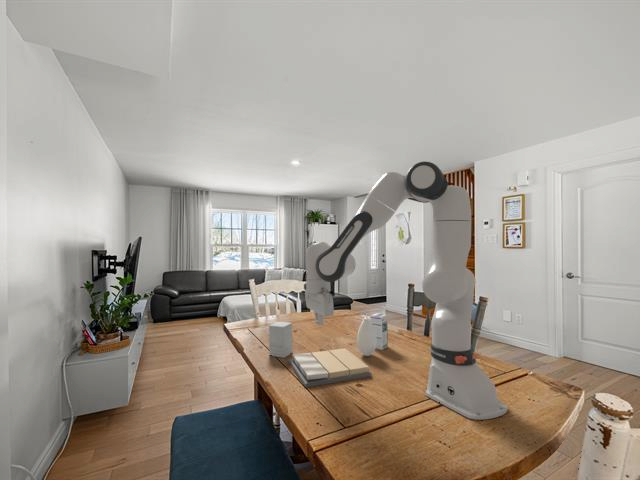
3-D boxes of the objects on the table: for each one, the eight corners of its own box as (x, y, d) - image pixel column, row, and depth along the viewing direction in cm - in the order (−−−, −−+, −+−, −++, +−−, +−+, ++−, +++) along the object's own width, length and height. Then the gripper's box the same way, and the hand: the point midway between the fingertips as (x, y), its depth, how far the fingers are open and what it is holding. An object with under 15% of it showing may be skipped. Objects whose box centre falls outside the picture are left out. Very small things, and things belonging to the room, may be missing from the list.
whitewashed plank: (328, 377, 100) (328, 373, 100) (307, 380, 97) (307, 375, 97) (309, 356, 119) (310, 352, 119) (292, 358, 116) (292, 354, 116)
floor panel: (371, 376, 104) (371, 367, 104) (305, 387, 96) (305, 378, 96) (345, 354, 125) (345, 347, 125) (288, 362, 117) (288, 354, 117)
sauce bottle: (354, 357, 122) (354, 312, 122) (361, 351, 129) (360, 309, 129) (373, 360, 118) (372, 314, 119) (378, 354, 125) (378, 310, 126)
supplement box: (293, 352, 128) (292, 322, 128) (283, 358, 121) (283, 327, 121) (278, 350, 131) (278, 320, 131) (268, 355, 124) (268, 325, 124)
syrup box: (382, 350, 130) (382, 316, 130) (370, 347, 133) (370, 314, 133) (388, 346, 134) (387, 314, 134) (376, 344, 138) (375, 312, 138)
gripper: (337, 289, 102) (339, 330, 102) (317, 283, 121) (318, 318, 121) (320, 290, 100) (321, 332, 99) (302, 284, 119) (303, 319, 118)
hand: (319, 324), depth 110 cm, fingers closed
